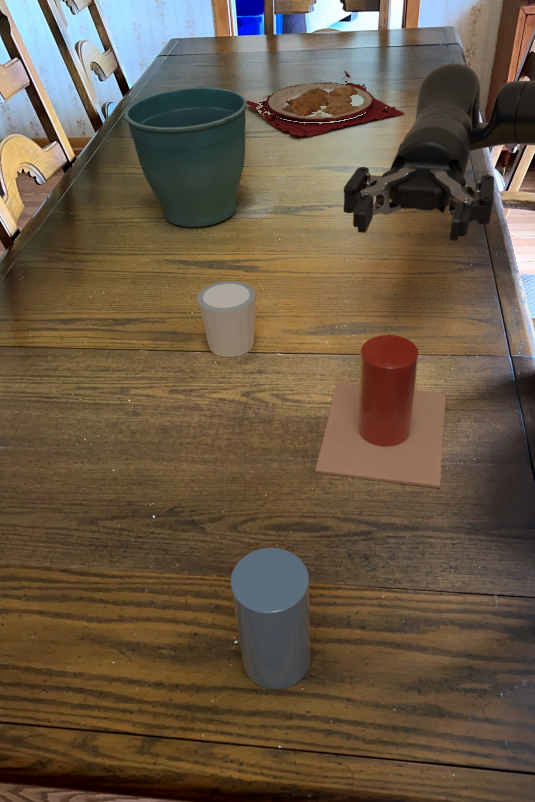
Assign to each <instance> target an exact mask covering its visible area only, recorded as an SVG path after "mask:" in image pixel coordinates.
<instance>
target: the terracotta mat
mask: <svg viewBox="0 0 535 802" xmlns="http://www.w3.org/2000/svg"><path fill="white" fill-rule="evenodd" d="M359 390H360V384H356V383H346V382H336V385H335V388H334V392H333V396H332V401H331V404H330V409H329V413H328V417H327V421H326V425H325V429H324V433H323V437H322V442H321V446H320V449H319V454H318V458H317V462H316V465H315V466H316V467H315V470H314V472H315V474H320V475H328V476H337V477H345V478H353V479H362V480H371V481H378V482H384V483H385V482H386V483H394V484H401V485H402V484H403V485H409V486H417V487H425V488H434V489H440V488H441V479H442V462H443V461H442V460H443V447H444V434H445V433H444V431H445V430H444V429H445V418H446V417H445V413H446V402H447V401H446V400H447V399H446V398H447V393H446V392H438V391H429V390H428V391H427V390H420V389H419V390H417V389H415V394H414V404H413V415H412V425H411V433H410V436H409V437H408V438H407V439H406V440H405V441H404V442H403V443H401V444H398V445H395V446H389V447H384V446H377V445H374V444H371V443H369V442H367V441H366V440H365V439H363V438H362V436H361V435H360V433H359V430H358V419H359Z"/></svg>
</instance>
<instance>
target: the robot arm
mask: <svg viewBox="0 0 535 802" xmlns="http://www.w3.org/2000/svg"><path fill="white" fill-rule="evenodd" d="M480 99H481V85H480V79H479V76H478V75H477V73H476V72H475V70H473V69H472V68H471V67H469V66H467V65H465V64H462V63H447V64H443V65H439V66H438V67H437V68H435V69H433V70H431V71H430V72H429V73H428V74H427V75H426V76H425V77H424V79H423V80H422V82H421V84H420V86H419V90H418V96H417V103H416V112H415V113H416V114H415V120H414V123H413V124H412V126H411V128H410V130H409V131H408V132H407V133H406V134H405V136H404V139H403V140H402V142H400V143H399V147H398V149H397V153H396V154H395V157H394V159H393V161H392V163H391V166H390V168H389V170H387V171H385V172H384V173H382V175H373V174H371V173H370V169H369V167H368V166H367V167H366V166H360V167H357V169H356V170H355V171H354V172H353V174H352V176H350V178H349V180H348V181H347V182H346V184H345V185H344V186H343V212H344V213H345V214H352V225H353V228H357V233H360V234H361V233H362V234H366V233H367V231H368V229H369V226H370V224H371V223H372V220H373V217H374V216H375V215H378V214H382V215H384V216H387V215H390V214H392V213H396V212H398V211H400V210H402V209H403V210H411V209H412V210H414V209H415V210H419V211H430V212H434V213H436V214H437V215H438V216H439V217H441V218H442V219H444V220H445V221H450V220H451V224H450V225H451V226H450V235H449V241H451V242H458V241H459V238H460V237H463V238H464V237H465V236H467V235H468V231H469V227H470V223H471V222H473V221H476V223H477V224H478V225H488V224H490V222H491V218H492V217H491V216H492V212H493V211H492V209H493V203H494V193H495V192H494V191H495V176H493V175H490V174H483V175H481V177H480V178H481V179H480V180H476V181H475V182H473V181H471V182H470V181H467V180H466V178H465V175H466V171H467V167H468V163H469V159H470V152H473V151H476V150H480V149H486V148H492V147H499V146H507V145H509V146H510V145H518V146H519V145H521V146H535V80H512V81H508V82H506V83H505V84H502V86H501V87H500V88H499V90H498V92H497V93H496V96H495V100H494V102H493V105H492V110H491V113H490V117H489V120H488V121H487V122H480V111H481V109H480V108H481V107H480V104H481V103H480ZM374 197H375V202H374Z"/></svg>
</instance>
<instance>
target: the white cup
mask: <svg viewBox="0 0 535 802" xmlns="http://www.w3.org/2000/svg"><path fill="white" fill-rule="evenodd" d="M196 300H197V304H198V308H199V312H200V316H201V320H202V324H203V328H204V332H205V337H206V341H207V344H208V348H209V351H210V352H211V353H213V354H214V355H216V356H218V357H221V358H236V357H241V356H243V355H245V354H247V353H249V352H250V351H251V350H252V349H253V348H254V344H255V333H256V331H255V329H256V328H255V325H256V292H255V289H254V287H252V286H251V285H249V284H248V283H245V282H242V281H238V280H236V281H235V280H224V281H218V282H214V283H212V284H209V285H207V286H205V287H203V289H201V290H200V291H199V292H198V295H197V297H196Z"/></svg>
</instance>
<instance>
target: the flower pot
mask: <svg viewBox="0 0 535 802" xmlns="http://www.w3.org/2000/svg"><path fill="white" fill-rule="evenodd" d="M246 101H247V99H246V98H245V96H244V95H242V94H240V93H238V92H237V91H234V90H230V89H225V88H221V87H187V88H186V87H185V88H178V89H177V88H176V89H173V90H167V91H162V92H159V93H154V94H151V95H148V96H146V97H143V98H141V99H138V100H137V101H135V102H133V103H132V104H131V105H129V106H128V107H127V108H126V110H125V112H124V118H125V121H126V122H127V123H128V127H129V128H128V129H129V132H130V135H131V138H132V139H133V144H134V147H135V151H136V155H137V158H138V162H139V165H140V167H141V170H142V173H143V175H144V177H145V179H146V181H147V183H148V186H149V187H150V189H151V191H152V192H153V194H154V195H155V197H156V199H157V201H158V203H159V205H160V206H161V210H162V214H163V217H164V218H165V220H166V221H168V222H169V223H170V224H173V225H175V226H179V227H185V228H199V227H200V228H201V227H208V226H212V225H215V224H219V223H221V222H223V221H225V220H228V219H229V218H230V217H232V216H233V215H234V214H235V212H236V211H237V207H238V204H237V196H238V192H239V188H240V182H241V180H242V176H243V172H244V166H245V160H246V109H247V106H248V105H247V103H246Z"/></svg>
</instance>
